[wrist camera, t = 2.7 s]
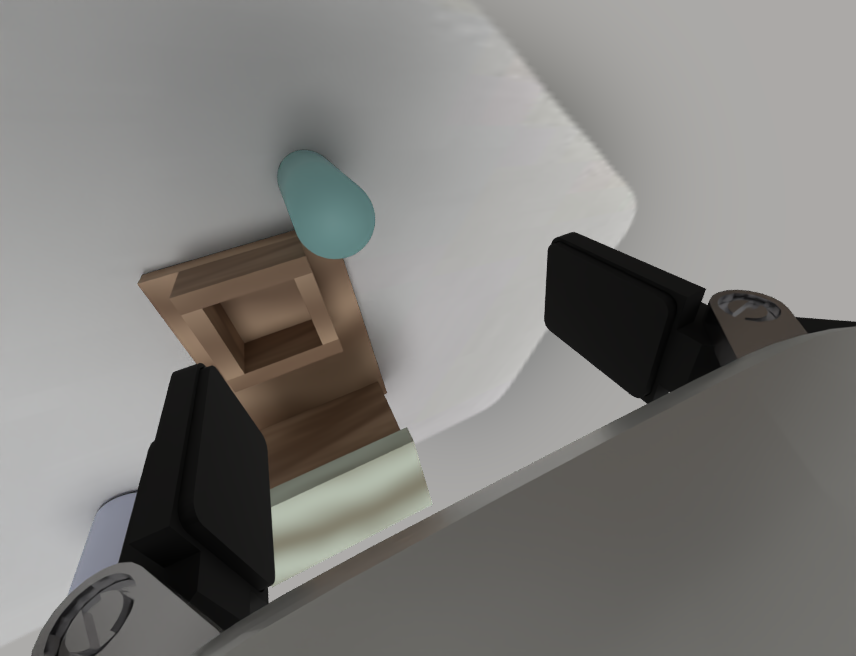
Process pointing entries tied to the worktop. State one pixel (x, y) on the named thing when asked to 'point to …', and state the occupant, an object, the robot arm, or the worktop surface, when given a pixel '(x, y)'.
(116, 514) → the spray bottle
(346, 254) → the peg
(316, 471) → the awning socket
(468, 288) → the worktop surface
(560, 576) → the robot arm
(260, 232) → the worktop surface
